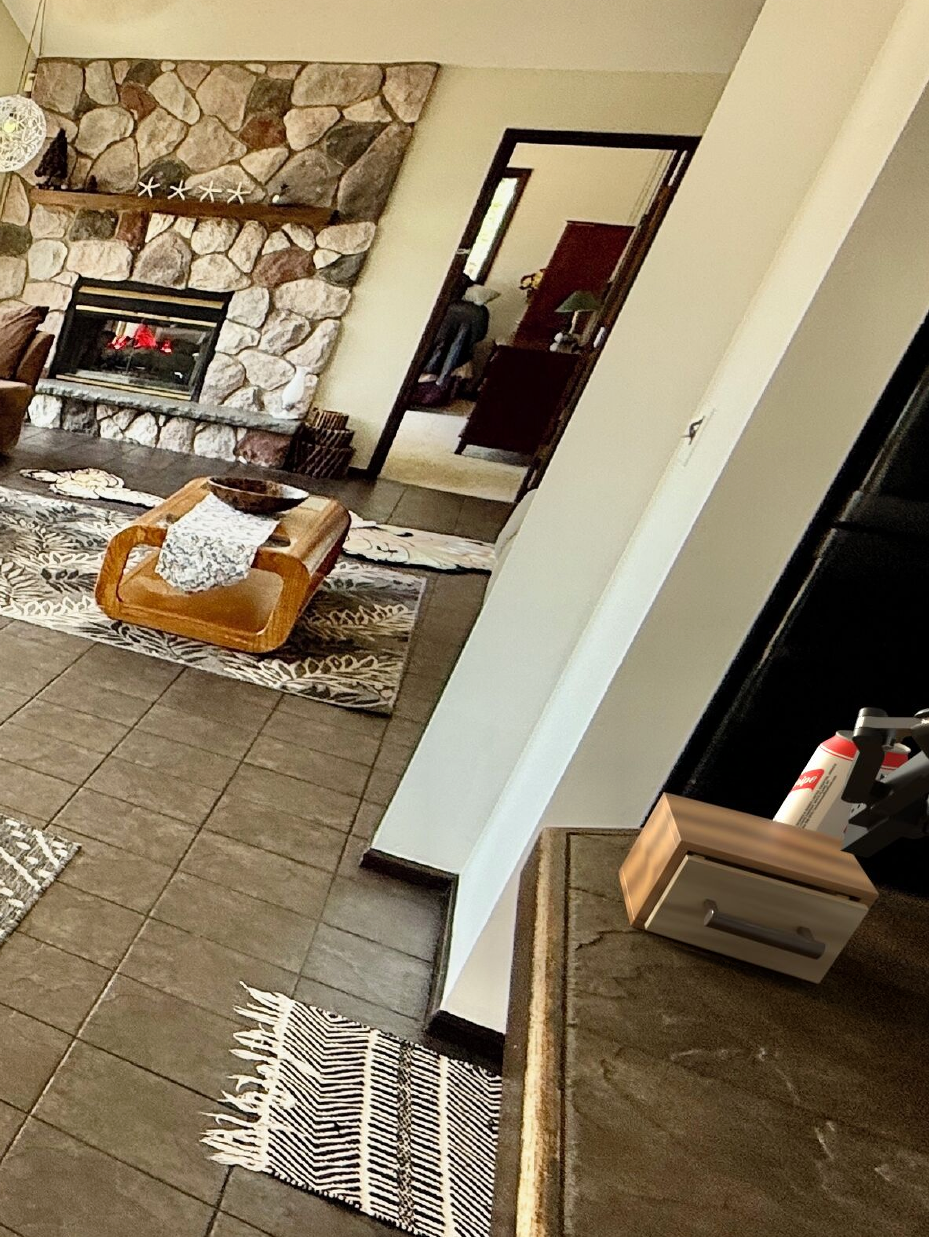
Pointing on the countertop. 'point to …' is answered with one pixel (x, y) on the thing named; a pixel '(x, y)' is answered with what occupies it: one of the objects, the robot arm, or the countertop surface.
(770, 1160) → the countertop surface
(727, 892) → the drawer
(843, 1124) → the countertop surface
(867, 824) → the robot arm
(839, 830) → the beer can
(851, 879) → the cabinet
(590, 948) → the countertop surface
